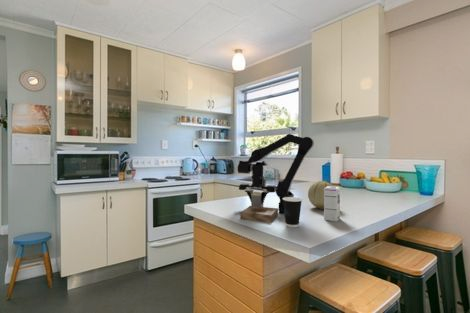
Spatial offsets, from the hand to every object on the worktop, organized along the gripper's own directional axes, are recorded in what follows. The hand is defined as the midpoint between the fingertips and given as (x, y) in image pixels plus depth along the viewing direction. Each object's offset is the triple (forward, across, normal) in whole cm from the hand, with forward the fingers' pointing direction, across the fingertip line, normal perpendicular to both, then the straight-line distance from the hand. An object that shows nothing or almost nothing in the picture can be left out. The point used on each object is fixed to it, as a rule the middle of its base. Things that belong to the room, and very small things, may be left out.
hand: (257, 204), depth 130 cm
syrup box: (+3, -36, +4) cm, 36 cm away
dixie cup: (+3, -21, +21) cm, 30 cm away
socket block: (+3, -5, +13) cm, 14 cm away
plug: (+2, 0, 0) cm, 2 cm away
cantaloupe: (+3, -31, -17) cm, 35 cm away
